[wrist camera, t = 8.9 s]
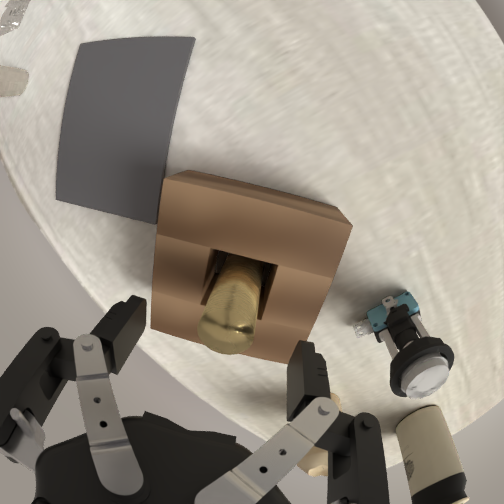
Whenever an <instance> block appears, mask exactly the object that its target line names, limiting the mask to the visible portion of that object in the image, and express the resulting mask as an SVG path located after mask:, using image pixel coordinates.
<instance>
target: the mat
mask: <svg viewBox="0 0 504 504" xmlns="http://www.w3.org/2000/svg"><path fill="white" fill-rule="evenodd" d="M195 40H196V39H195V38H194V37H136V38H122V39H112V40H103V41H96V42H89V43H83V44H80V48H79V51H78V54H77V57H76V61H75V65H74V68H73V72H72V76H71V80H70V84H69V89H68V93H67V98H66V103H65V108H64V114H63V120H62V127H61V134H60V142H59V151H58V162H57V178H56V200H59V201H63V202H67V203H71V204H75V205H79V206H83V207H87V208H91V209H95V210H99V211H103V212H107V213H111V214H115V215H119V216H123V217H127V218H131V219H135V220H139V221H143V222H147V223H151V224H157V220H158V212H159V205H160V197H161V190H162V184H163V177H164V171H165V165H166V159H167V154H168V148H169V143H170V138H171V133H172V128H173V123H174V119H175V114H176V110H177V106H178V101H179V97H180V93H181V89H182V85H183V81H184V78H185V74H186V70H187V67H188V63H189V60H190V56H191V53H192V49H193V46H194V43H195Z"/></svg>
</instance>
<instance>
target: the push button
mask: <svg viewBox="0 0 504 504" xmlns="http://www.w3.org/2000/svg"><path fill="white" fill-rule="evenodd" d="M388 299H390V301H388V302H386V300H388ZM382 303H383V304H382V305H380V306H378V307H376V308H373V309H371V310H369V311H368V312H367V316H368V318H367V319H365V320H363V322H362V323H359V324H357V325H355V326H353V328H354V330H355V334H356V336H357V338H359V337H361V336H364V335H366V334H368V335H369V334H371V333H373V332H374V334H375V337H376V339H377V341H378V342H379V343H381V342H383V341H385V343H386V346H387V348H388V350H389V353H390V355H391V357H392V362H391V364H390V387H391V390H392V392H393V393H394V394H395V395H397V396H400V397H409V398H410V399H421V398H423V397H426V396H429V395H431V394H432V393H434V392H435V391H437V390H438V389H439V388H440V387H441V386H442V385H443V384H444V383H445V382H446V380H447V378H448V376H449V371H450V369H451V367H452V365H453V362H454V353H453V351H452V349H451V348H450V347H449V346H448V345H447V344H444V343H443V341H442V340H441V339H440V338H434V337H430V336H429V334H428V333H427V331H426V329H425V328H424V326H423V325H422V323H421V321H422V320H421V315H420V310H419V306H418V303H417V302H416V300H415V299H414V298H413V296H412V295H411V293H410V292H405V293H403V294H402V295H400V296H398V297H396V298H394V299H393V297H392V296H388V297H386V298H384V299H382ZM358 326H361V328H360V329H357V327H358ZM360 332H363V334H361V335H360V334H359V333H360ZM416 332H417V333H418V335H419V337H420V338H419V337H418V335H417V334H416ZM394 343H395V344H394ZM395 345H396V346H395ZM396 347H397V348H396ZM397 349H399V351H400V352H398V351H397ZM439 352H440V353H439Z"/></svg>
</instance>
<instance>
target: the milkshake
mask: <svg viewBox="0 0 504 504" xmlns="http://www.w3.org/2000/svg"><path fill="white" fill-rule="evenodd" d="M28 78H29V74H28V72H27V70H24V69H19V68H14V67H9V66H3V65H0V98H1V97H10V96H20V95H21V94H22V93H23V92H24V91H25V89H26V86H27V84H28Z"/></svg>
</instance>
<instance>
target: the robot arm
mask: <svg viewBox="0 0 504 504" xmlns="http://www.w3.org/2000/svg"><path fill="white" fill-rule="evenodd" d="M146 306H147V301H146V299H144V298H141V297H138V296H135V295H132V296H131V297H130V298H129V299H128V300H127V302H123V301H120V302H118V303H116V304H115V305H113V306H112V307H111V309H110V310H109V311H108V312H107V313H106V315H105V316H104V317H103V318H102V319H101V321H100V322H99V323H98V324H97V325H96V327H95V328H94V329H93V330H92V332H91V333H90V334H83V335H80V336H78V337H77V338H76V339H75V340H72V339H66V338H60V336H59V333H58V331H57V330H56V329H54V328H51V327H44V328H41V329H39V330H38V331H37V332H36V333H35V334H34V335H33V336H32V338H31V339H30V340H29V341H28V342H27V344H26V345H25V346H24V347H23V349H22V350H21V351H20V352H19V354H18V355H17V356H16V357H15V359H14V360H13V361H12V363H11V364H10V365H9V367H8V368H7V369H6V371H5V372H4V374H3V375H2V376H1V377H0V453H1V454H3V455H4V456H6V457H7V458H8V459H9V460H10V461H12V462H14V463H20V464H21V465H23V466H25V467H26V468H27V469H29V470H30V471H32V472H34V473H35V475H36V493H35V498H34V500H33V502H32V503H31V504H291V503H290V502H289V501H288V499H287V498H286V497H285V496H284V494H283V493H282V492H281V490H280V489H279V488H278V487H277V485H276V484H277V483H278V482H279V481H280V480H281V479H282V478H283V477H284V476H285V475H287V473H289V471H291V470H292V469H293V467H294V466H295V465H296V464H297V463H298V462H299V461H300V460H301V459H302V458H303V457H304V456H305V455H306V454H307V453H308V452H309V450H310V449H311V448H312V447H313V446H315V447H318V448H321V449H324V450H326V451H328V493H327V504H390V503H389V491H388V481H387V472H386V464H385V456H384V449H383V443H382V436H381V430H380V425H379V422H378V420H377V418H376V417H375V416H373V415H372V414H370V413H359V414H358V415H357V416H356V417H354V416H351V415H348V414H345V413H343V412H341V411H339V408H338V406H337V404H336V403H335V402H334V401H333V400H331V394H330V387H329V380H328V373H327V367H326V361H325V360H324V358H323V356H322V355H321V354H319V353H315V347H314V343H313V342H308V341H303V340H299V341H298V343H297V345H296V347H295V349H294V351H293V353H292V356H291V358H290V360H289V363H288V367H287V421H289V422H291V423H290V424H286V425H285V426H284V427H283V428H282V429H281V430H280V431H279V432H277V433H276V434H275V435H274V436H273V437H272V438H271V439H270V440H268V441H267V442H266V443H265V444H264V445H263V446H262V447H260V448H259V449H258V450H257V451H255V452H254V453H252V452H250V451H249V450H248V449H247V448H245V447H244V446H242V445H240V444H238V443H236V436H231V435H226V434H221V433H217V432H210V431H207V432H206V431H190V430H187V429H185V428H183V427H181V426H179V425H177V424H175V423H174V422H172V421H170V420H168V419H166V418H163V417H161V416H158V415H155V414H152V413H149V412H146V411H145V413H144V414H143V417H142V416H128V417H123V418H121V417H120V414H119V410H118V407H117V404H116V400H115V397H114V394H113V390H112V386H111V383H110V379H109V374H110V373H111V372H112V373H114V374H116V375H117V374H118V373H119V371H120V370H121V368H122V366H123V365H124V363H125V361H126V360H127V358H128V356H129V355H130V353H131V351H132V350H133V348H134V346H135V345H136V343H137V342H138V340H139V338H140V337H141V335H142V333H143V332H144V329H145V326H146ZM68 380H71V381H76V383H77V389H78V395H79V400H80V406H81V411H82V416H83V420H84V424H85V429H86V433H84V434H82V435H79V436H77V437H74V438H72V439H69V440H66V441H64V442H61V443H58V444H56V445H53V446H50V447H48V448H46V449H45V450H44V448H43V445H44V440H45V433H44V430H43V429H42V425H43V423H44V422H45V420H46V418H47V416H48V414H49V412H50V410H51V409H52V407H53V405H54V403H55V402H56V400H57V398H58V396H59V395H60V393H61V391H62V390H63V388H64V386H65V384H66V383H67V381H68Z"/></svg>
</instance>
